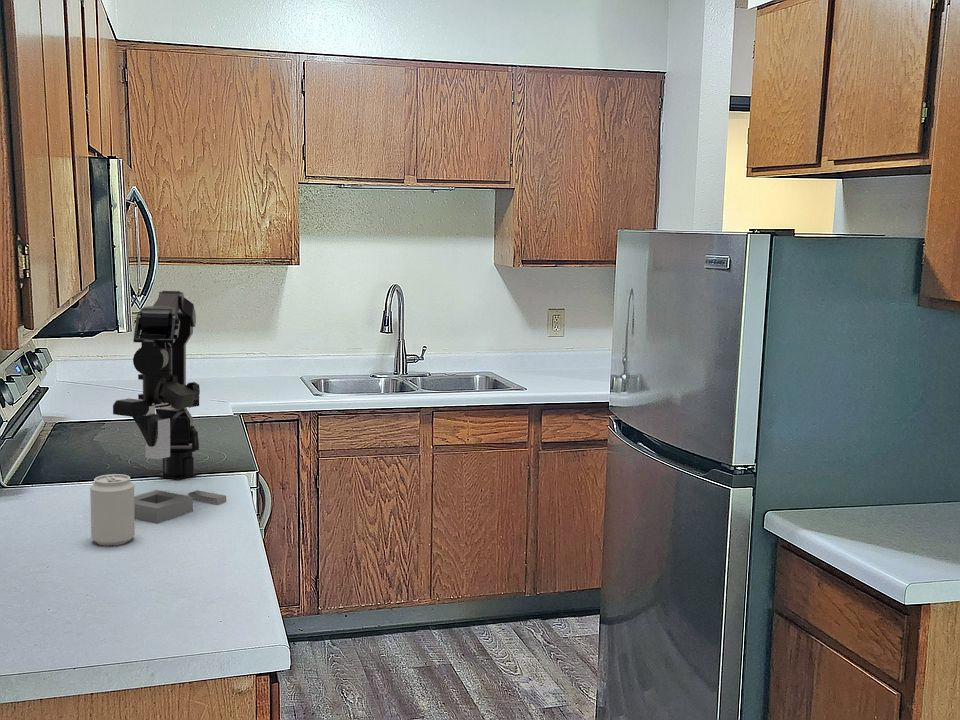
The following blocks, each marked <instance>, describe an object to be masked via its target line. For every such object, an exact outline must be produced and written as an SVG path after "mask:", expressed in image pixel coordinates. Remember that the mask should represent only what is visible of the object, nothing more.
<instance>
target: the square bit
mask: <svg viewBox="0 0 960 720" xmlns="http://www.w3.org/2000/svg"><path fill="white" fill-rule="evenodd" d="M144 440H145V439H144ZM166 457H170V418H163V417H158V418H157V420H156V421H155V439H154V446H153V447H150V446H148V444H147V442H146V440H145V458H147V459H152V460H153V459H154V460H163V458H166Z"/></svg>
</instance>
